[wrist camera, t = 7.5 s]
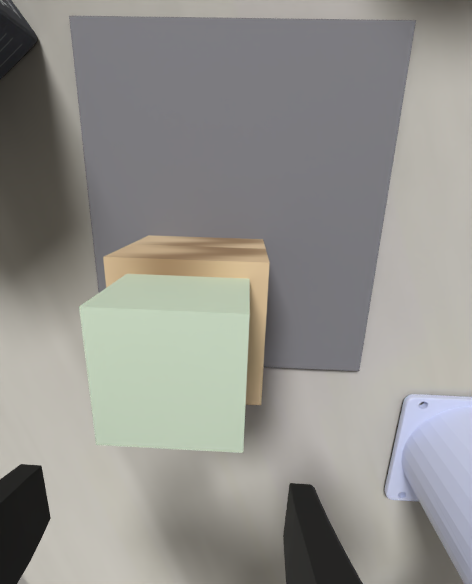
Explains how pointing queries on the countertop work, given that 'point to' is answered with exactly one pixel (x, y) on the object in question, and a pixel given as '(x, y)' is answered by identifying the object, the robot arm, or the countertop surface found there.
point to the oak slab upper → (207, 265)
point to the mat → (250, 154)
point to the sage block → (168, 361)
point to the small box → (13, 36)
